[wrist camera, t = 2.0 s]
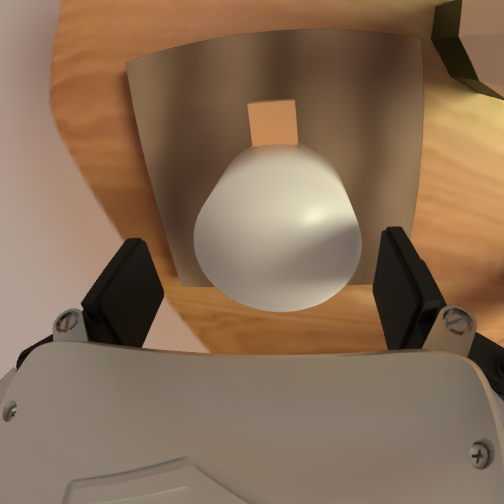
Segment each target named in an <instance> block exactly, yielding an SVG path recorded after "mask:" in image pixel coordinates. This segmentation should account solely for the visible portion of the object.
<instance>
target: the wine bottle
mask: <svg viewBox="0 0 504 504" xmlns="http://www.w3.org/2000/svg"><path fill="white" fill-rule="evenodd" d="M431 40H432V42H433V44H434V46H435V47H436V49H437V51H438V53H439V55H440V57H441V59H442V61H443V63H444V65H445V67H446V69H447V71H448V73H449V75H450V77H452V78H454V79H456V80H458V81H459V82H461V83H463V84H465V85H466V86H468V87H470V88H472V89H473V90H475V91H476V92H478V93H480V94H483V95H487V96H491V97H494V98H498V99H501V100H504V0H455V1H452V2H448V3H445V4H442V5H439V6H436V9H435V17H434V24H433V30H432V37H431Z"/></svg>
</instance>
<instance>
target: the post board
mask: <svg viewBox="0 0 504 504" xmlns="http://www.w3.org/2000/svg"><path fill="white" fill-rule="evenodd" d="M125 63H126V69H127V75H128V81H129V86H130V92H131V97H132V102H133V108H134V113H135V117H136V122H137V127H138V132H139V136H140V141H141V145H142V149H143V154H144V158H145V162H146V166H147V170H148V174H149V178H150V182H151V186H152V189H153V193H154V197H155V201H156V204H157V208H158V211H159V215H160V218H161V222H162V225H163V229H164V232H165V235H166V239H167V242H168V245H169V249H170V252H171V255H172V258H173V261H174V264H175V267H176V270H177V274H178V277H179V280H180V283H181V286H194V287H215V286H214V285H213V284H212V283H211V282H210V281H209V279H208V278H207V277H206V275H205V274H204V272H203V271H202V269H201V267H200V265H199V263H198V260H197V257H196V254H195V249H194V238H193V236H194V227H195V224H196V220H197V217H198V215H199V213H200V211H201V209H202V207H203V205H204V204H205V202H206V200H207V199H208V197H209V196H210V194H211V192H212V191H213V189H214V188H215V186H216V184H217V183H218V181H219V180H220V178H221V176H222V175H223V173H224V172H225V170H226V169H227V167H228V166H229V164H230V163H231V162H232V160H233V159H234V158H235V157H236V156H237V155H239V154H240V153H241V152H242V151H244V150H245V149H247V148H249V147H250V146H252V138H251V130H250V122H249V114H248V106H247V104H248V103H249V102H256V101H268V100H282V99H295V108H296V120H297V133H298V142H300V143H303V144H306V145H308V146H310V147H312V148H314V149H316V150H317V151H319V152H320V153H321V154H323V155H324V156H325V157H326V158H327V159H328V160H329V161H330V162H331V163H332V165H333V166H334V168H335V169H336V171H337V173H338V174H339V176H340V179H341V181H342V183H343V186H344V188H345V191H346V193H347V196H348V198H349V201H350V203H351V206H352V208H353V211H354V213H355V216H356V219H357V221H358V224H359V228H360V231H361V239H362V247H361V255H360V260H359V263H358V265H357V268H356V270H355V272H354V274H353V276H352V277H351V279H350V280H349V281H348V283H347V284H346V285H360V284H373V282H374V276H375V271H376V265H377V259H378V252H379V246H380V239H381V232H382V231H383V230H386V228H387V227H392V226H401V227H402V228H403V230H404V231H405V233H406V235H407V236H408V238H409V240H410V237H411V232H412V226H413V220H414V214H415V208H416V201H417V194H418V186H419V177H420V167H421V155H422V141H423V116H424V86H423V62H422V48H421V39H418V38H413V37H407V36H401V35H394V34H386V33H378V32H368V31H355V30H333V29H303V30H281V31H268V32H258V33H249V34H241V35H234V36H228V37H222V38H216V39H210V40H205V41H200V42H196V43H191V44H187V45H182V46H178V47H174V48H171V49H167V50H163V51H160V52H156V53H153V54H149V55H146V56H143V57H140V58H137V59H134V60H131V61H128V62H125Z"/></svg>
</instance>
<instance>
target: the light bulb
mask: <svg viewBox="0 0 504 504" xmlns="http://www.w3.org/2000/svg"><path fill="white" fill-rule="evenodd" d="M247 106H248V114H249V122H250V130H251V138H252V146H250V147H249V148H247V149H245V150H244V151H242V152H241V153H240V154H239V155H237V156H236V157H235V158H234V159H233V160H232V162H231V163H230V164H229V166H228V167H227V169H226V170H225V172H224V173H223V175H222V176H221V178H220V180H219V181H218V183H217V184H216V186H215V188H214V189H213V191H212V192H211V194H210V196H209V197H208V199H207V200H206V202H205V204H204V205H203V207H202V209H201V211H200V213H199V215H198V217H197V220H196V224H195V227H194V236H193V238H194V249H195V254H196V257H197V260H198V263H199V265H200V267H201V269H202V271H203V272H204V274H205V275H206V277H207V278H208V279H209V281H210V282H211V283H212V284H213V285H214V286H215V287H216V288H217V289H218V290H219V291H220V292H222V293H223V294H225V295H226V296H227V297H229V298H231V299H232V300H234V301H236V302H238V303H240V304H243V305H245V306H248V307H251V308H254V309H258V310H263V311H270V312H292V311H298V310H303V309H307V308H310V307H313V306H316V305H318V304H320V303H322V302H324V301H326V300H328V299H329V298H331V297H333V296H334V295H335V294H336V293H338V292H339V291H340V290H341V289H342V288H343V287H344V286H345V285H346V284H347V283H348V281H349V280H350V279H351V277H352V276H353V274H354V272H355V270H356V268H357V265H358V263H359V260H360V255H361V247H362V239H361V231H360V228H359V224H358V221H357V219H356V216H355V213H354V211H353V208H352V206H351V203H350V201H349V198H348V196H347V193H346V191H345V188H344V186H343V183H342V181H341V179H340V176H339V174H338V173H337V171H336V169H335V168H334V166H333V165H332V163H331V162H330V161H329V160H328V159H327V158H326V157H325V156H324V155H323V154H321V153H320V152H319V151H317V150H316V149H314V148H312V147H310V146H308V145H306V144H303V143H300V142H298V133H297V120H296V108H295V99H282V100H268V101H256V102H249V103H248V104H247Z"/></svg>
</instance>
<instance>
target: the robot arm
mask: <svg viewBox="0 0 504 504" xmlns="http://www.w3.org/2000/svg"><path fill="white" fill-rule="evenodd" d="M373 295H374V298H375V302H376V305H377V309H378V312H379V316H380V320H381V324H382V327H383V331H384V335H385V339H386V343H387V348H388V350H384V351H371V352H355V353H335V354H311V355H238V354H213V353H195V352H182V351H169V350H158V349H148V348H142V346H143V343H144V341H145V339H146V336H147V334H148V332H149V329H150V327H151V325H152V322H153V320H154V318H155V316H156V313H157V311H158V308H159V307H160V304H161V302H162V300H163V298H164V290H163V287H162V285H161V282H160V279H159V277H158V274H157V271H156V269H155V266H154V263H153V261H152V258H151V255H150V252H149V250H148V247H147V244H146V242H145V241H143V240H142V239H141V238H130V239H127V240H126V241H125V242H124V243H123V245H122V246H121V247H120V249H119V250H118V252H117V253H116V254H115V256H114V257H113V258H112V259H111V261H110V262H109V264H108V265H107V266H106V268H105V269H104V270H103V272H102V273H101V275H100V276H99V277H98V279H97V280H96V282H95V283H94V285H93V286H92V288H91V289H90V290H89V292H88V293H87V295H86V296H85V298H84V299H83V301H82V302H81V305H82V307H83V308H84V309H83V311H82V312H81V311H80V310H79V309H69V310H67V311H65V312H63V313H62V314H60V315H59V316H58V317H57V319H56V320H55V322H54V324H53V334H52V335H50V336H48V337H47V338H45V339H43V340H41V341H39V342H38V343H36V344H34V345H33V346H31V347H29V348H27V349H26V350H24V351H23V352H22V353H21V354H20V356H19V358H18V360H17V365H16V367H17V369H15V368H14V367H13V368H12V369H11V370H10V371H9V372H8V373H7V374H6V375H5V376H4V377H3V378H2V379H1V380H0V504H504V348H503V347H501V346H500V345H498V344H496V343H495V342H493V341H491V340H489V339H488V338H486V337H484V336H482V335H481V334H479V333H477V332H476V328H477V324H476V320H475V318H474V316H473V314H472V313H471V312H470V311H469V310H467V309H465V308H464V307H461V306H458V305H449V306H447V304H446V302H445V300H444V298H443V296H442V294H441V292H440V290H439V288H438V286H437V284H436V282H435V280H434V278H433V277H432V275H431V273H430V271H429V269H428V267H427V265H426V264H425V262H424V261H423V260H422V259H420V257H419V255H418V253H417V252H416V250H415V248H414V246H413V245H412V243H411V241H410V240H409V238H408V236H407V235H406V233H405V231H404V230H403V228H402V227H401V226H392V227H387V228H386V230H383V231H382V232H381V239H380V246H379V252H378V259H377V265H376V271H375V276H374V282H373Z"/></svg>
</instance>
